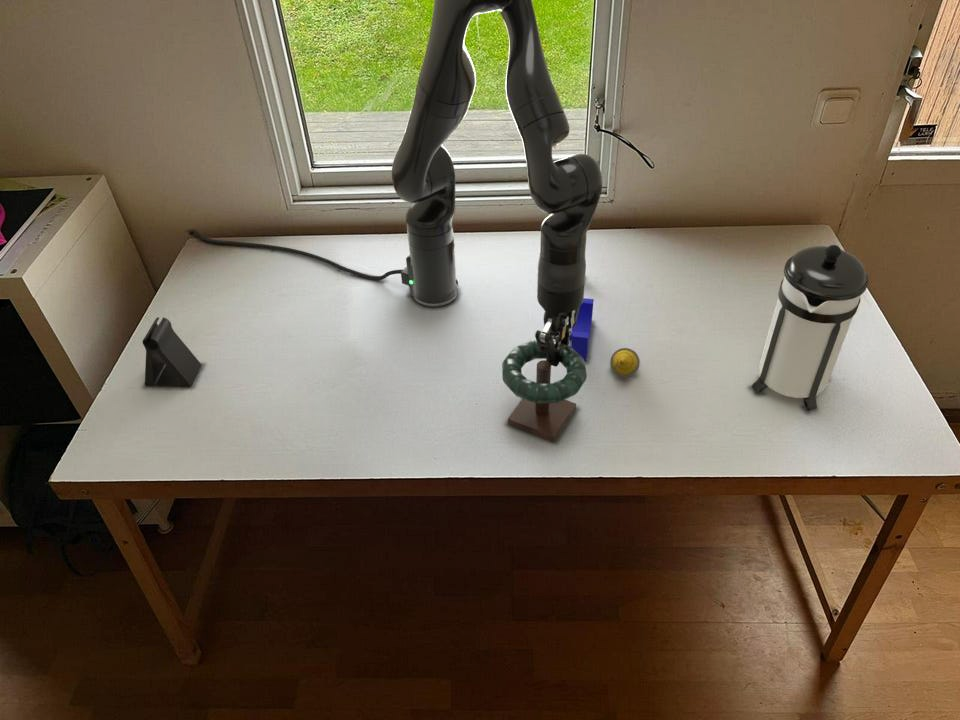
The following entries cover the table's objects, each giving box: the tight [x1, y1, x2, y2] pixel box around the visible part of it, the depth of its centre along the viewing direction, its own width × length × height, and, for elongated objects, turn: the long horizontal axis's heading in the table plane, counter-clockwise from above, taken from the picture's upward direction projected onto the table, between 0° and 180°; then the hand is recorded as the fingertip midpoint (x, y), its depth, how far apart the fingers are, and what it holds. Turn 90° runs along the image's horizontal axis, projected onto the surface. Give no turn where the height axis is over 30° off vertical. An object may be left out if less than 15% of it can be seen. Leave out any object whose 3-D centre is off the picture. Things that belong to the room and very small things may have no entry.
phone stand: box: [142, 316, 202, 388], centre depth 144 cm, size 9×6×12 cm, turn 86°
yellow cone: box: [609, 347, 641, 378], centre depth 143 cm, size 5×5×10 cm
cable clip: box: [569, 297, 595, 363], centre depth 151 cm, size 12×4×6 cm, turn 169°
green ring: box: [501, 339, 588, 403], centre depth 130 cm, size 14×14×3 cm
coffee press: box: [751, 244, 870, 412], centre depth 133 cm, size 17×16×30 cm
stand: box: [507, 359, 577, 443], centre depth 133 cm, size 9×9×12 cm
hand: (557, 357), depth 134 cm, fingers closed on green ring, 3 cm apart
